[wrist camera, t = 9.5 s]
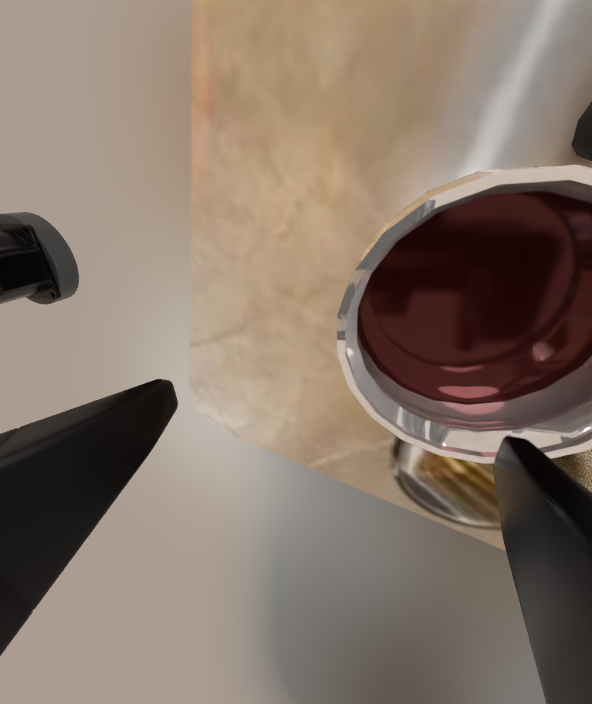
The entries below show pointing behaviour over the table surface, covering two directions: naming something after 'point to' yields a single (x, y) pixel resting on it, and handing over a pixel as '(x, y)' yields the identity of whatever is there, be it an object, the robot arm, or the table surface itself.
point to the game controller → (584, 135)
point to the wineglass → (478, 315)
